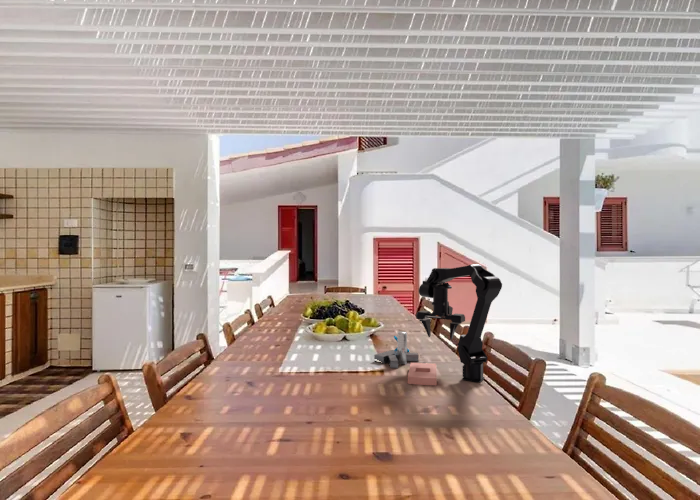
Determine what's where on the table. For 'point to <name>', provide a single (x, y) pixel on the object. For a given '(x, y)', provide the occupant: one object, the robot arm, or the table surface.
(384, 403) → the table surface
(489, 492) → the table surface
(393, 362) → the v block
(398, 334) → the axle
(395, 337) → the gear
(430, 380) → the beam plate
